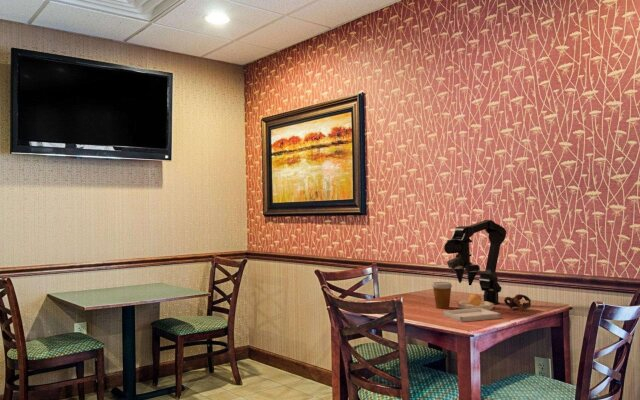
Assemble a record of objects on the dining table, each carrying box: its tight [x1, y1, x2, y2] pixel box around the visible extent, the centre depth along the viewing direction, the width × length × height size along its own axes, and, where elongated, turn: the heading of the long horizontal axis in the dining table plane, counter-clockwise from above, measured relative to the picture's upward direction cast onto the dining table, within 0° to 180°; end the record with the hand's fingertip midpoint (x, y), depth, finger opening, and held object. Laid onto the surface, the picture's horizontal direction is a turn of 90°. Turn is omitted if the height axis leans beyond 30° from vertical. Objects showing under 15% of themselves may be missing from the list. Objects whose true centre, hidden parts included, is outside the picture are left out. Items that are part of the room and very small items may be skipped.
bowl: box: [456, 300, 495, 311], centre depth 265 cm, size 16×16×2 cm
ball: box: [468, 293, 483, 306], centre depth 265 cm, size 6×6×6 cm
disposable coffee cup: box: [432, 281, 453, 309], centre depth 267 cm, size 10×10×12 cm
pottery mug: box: [503, 293, 532, 312], centre depth 258 cm, size 12×10×8 cm
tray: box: [442, 308, 502, 323], centre depth 243 cm, size 20×15×2 cm
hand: (465, 283), depth 266 cm, fingers open, 9 cm apart
